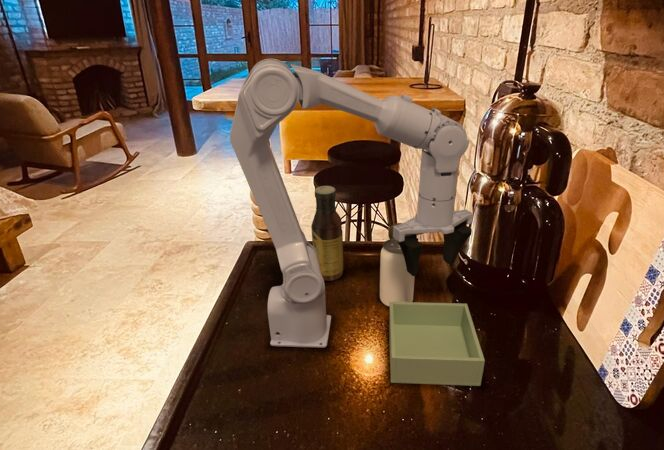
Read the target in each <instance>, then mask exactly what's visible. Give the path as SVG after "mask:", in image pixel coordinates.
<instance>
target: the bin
mask: <svg viewBox="0 0 664 450" xmlns="http://www.w3.org/2000/svg"><path fill="white" fill-rule="evenodd" d="M388 308H389V310H388V312H389V313H388V338H389V339H388V340H389V343H388V344H389V364H390V365H389V369H390V370H389V371H390V372H389V373H390V375H389V376H390V383H391V384H415V385H419V384H420V385H443V386H444V385H445V386H446V385H447V386H469V387H470V386H471V387H472V386H473V387H481V385H482V379H483V373H484V367H485V364H486V363H485V362H486V359H485V357H484V353H483V351H482V347H481V344H480V340H479V338H478V334H477V332H476V329H475V324H474V322H473V318H472V315H471V312H470V309H469V305H468V303H458V302H457V303H456V302H455V303H453V302H417V301H414V302H413V301H412V302H390V305H389V307H388Z"/></svg>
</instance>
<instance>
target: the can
mask: <svg viewBox="0 0 664 450" xmlns="http://www.w3.org/2000/svg"><path fill="white" fill-rule="evenodd" d="M379 257H380V260H379V262H380V263H379V264H380V265H379V300H380V301H381V303H382V304H383V305H384V306H386V307H388V308H389V305H390V302H413V301H414V293H415V292H414V291H415V277H416V276H412V275H411V274H410V273H409V272H407V268H406V263H405V259H404V256H403V253H402V250H401V248H400V246H399V244H398V242H397V240H396V239H395V238H393V239H389V238H388V239H387V240H385V241H384V242H383V244H382V248H381V250H380V256H379Z"/></svg>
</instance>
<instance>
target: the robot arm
mask: <svg viewBox="0 0 664 450" xmlns="http://www.w3.org/2000/svg"><path fill="white" fill-rule="evenodd" d="M290 67H291V68H292V69H291V68H290ZM290 67H289V66H288V64H286V63H285V62H283V61H282V60H280V59H276V58H264V59H262V60H259V61H258V62H256V63H255V64H254V65H253V67H252V68H251V70H250V71H249V73H248V74H247V76H246V77H245V79H244V81H243V82H242V85H241V88H240V91H239V93H238V98H237V101H236V107H235V111H234V115H233V120H232V123H231V128H230V131H229V140H230V144H231V146H232V149H233V151H234V153H235V156H236V158H237V161H238V163H239V166H240V167H241V170H242V172H243V175H244V177H245V179H246V182H247V184H248V187H249V190H250V191H251V194H252V196H253V198H254V202H255V203H256V206H257V208H258V211H259V213H260V215H261V217H262V220H263V222H264V224H265V227H266V229H267V232H268V235H269V236H270V238H271V241H272V244H273V247H274V248H275V251H276V255H277V259H278V263H279V267H280V271H281V273H282V284H281V285H275V286H272V287H271V288H270V289H269V292H268V298H267V319H268V325H269V334H270V342H269V344H270V347H286V348H287V347H288V348H316V349H317V348H319V349H324V348H326V347H327V346H328V342H329V335H330V328H331V323H332V315H330V314H327V305H326V304H327V301H326V300H327V299H326V286H325V281H324V279H323V277H322V275H321V270H320V266H319V262H318V253H317V251H316V249H315V248H314V247H313V244H311V243H310V242H309V241H308V239H307V238H306V235H305V233H304V232H303V230H302V228H301V225H300V221H299V219H298V216H297V214H296V212H295V209H294V206H293V204H292V201H291V198H290V195H289V193H288V190H287V187H286V185H285V183H284V179H283V177H282V174H281V171H280V169H279V166H278V163H277V161H276V158H275V155H274V153H273V151H272V147H271V145H270V142H269V140H270V138H271V136H272V135H273V133H274V132H275V130H276V128H277V125H279V124H280V123H281V122H282V121H283V120H284V119H285V118H287V117H288V116H289V115H290V114H291V113H292V112H293V111H294V110H295V109H296V107H297V105H298V103H299V104H300V105H299V106H300V107H301V110H303V111H304V110H307V109H311V108H314V107H317V106H320V105H323V106H324V105H325V106H328V107H330V108H332V109H336V110H339V111H342V112H344V113H347V114H350V115H353V116H356V117H359V118H360V119H364V120H367V121H370V122H372V123H373V124H374V127H375V130H376V132H377V134H378V135H380V136H382V137H384V138H388V139H390V140H393V141H395V142H398V143H401V144H402V145H406V146H408V147H411V148H414V149H417V150H421V155H420V166H419V180H418V197H417V209H416V210H417V211H416V212H417V213H416V216H414V217H412V218H409V219H407V220H406V221H403V222H401V223H402V224H400V225H397V226H393V237H394V238H395V239H396V240H397V242H398V244H399V246H400V248H401V250H402V253H403V256H404V259H405V263H406V268H407V272H409V273H410V274H411V275H412V276H415V277H417V275H418V273H419V264H420V258H421V255H422V252H423V249H424V247H425V245H424V244H422V243H421V242H420V241H419V238H418V236H420V235H424V234H432V233H433V234H434V233H441V234H443V249H442V258H443V259H442V260H443V261H444V262H445V263H446V264H448V265H449V266H453V265H454V264H455V262H456V259H457V257H458V255H459V253H460V251H461V249H462V247H463V246H464V244H465V243H466V242H467V240H468V239H469V238H470V237H471V236H472V233H473V232H472V231H473V229H472V228H471V227H470V226H468V225H472V224H473V223H474V212H472V211H470V210H469V209H466V208H464V209H458V210H455V202H456V194H457V184H458V175H459V167H460V166H459V165H460V160H461V158H462V157H463V156H464V155H465V153H466V152H467V150H468V148H469V146H470V145H469V144H470V139H468V137H467V131H466V129H465V128H464V126H463V125H462V124H461V123H460V122H457V121H456V120H454V119H452V118H450V117H447V115H443V114H442V111H441V110H439V109H437V108H434V107H432V108H431V109H429V108H426V107H424V106H422V105H420V104H417V103H414V102H412V101H414V98H413V97H412V96H409V95H407V94H405V93H401V95H400V96H398V95H396V94H393V95H390V96H387V97H385V98H382V99H380V98H378V97H376V96H373V95H371V94H369V93H367V92H364V91H362V90H360V89H357V88H355V87H354V86H351V85H349V84H347V83H344V82H342V81H340V80H338V79H336V78H333V77H331V76H329V75H327V74H325V73H323V72H321V71H318V70H314V69H310V68H308V67H304V66H300V65H297V64H292V63H290ZM292 70H293V71H292Z"/></svg>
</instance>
